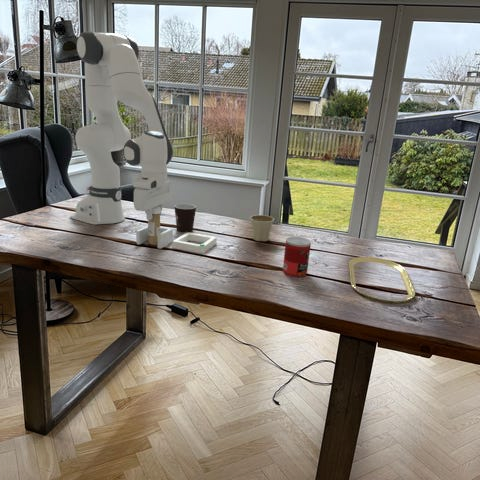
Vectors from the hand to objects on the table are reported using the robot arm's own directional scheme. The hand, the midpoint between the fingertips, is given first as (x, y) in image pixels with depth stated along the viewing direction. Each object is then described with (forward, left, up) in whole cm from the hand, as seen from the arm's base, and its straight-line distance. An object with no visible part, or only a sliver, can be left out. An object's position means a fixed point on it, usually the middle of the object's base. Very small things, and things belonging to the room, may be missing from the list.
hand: (154, 217), depth 152 cm
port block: (+14, +5, -10) cm, 18 cm away
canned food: (+53, -2, -10) cm, 54 cm away
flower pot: (+33, +25, -10) cm, 43 cm away
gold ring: (+79, +6, -10) cm, 80 cm away
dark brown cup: (+2, +21, -10) cm, 23 cm away
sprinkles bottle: (0, 0, -10) cm, 10 cm away
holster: (0, 0, -10) cm, 10 cm away
